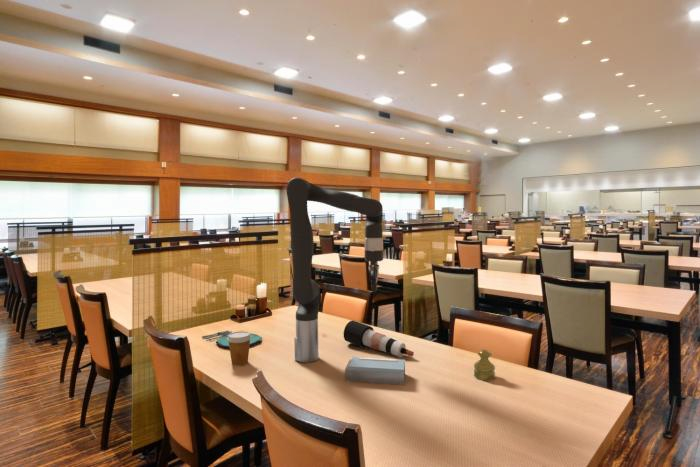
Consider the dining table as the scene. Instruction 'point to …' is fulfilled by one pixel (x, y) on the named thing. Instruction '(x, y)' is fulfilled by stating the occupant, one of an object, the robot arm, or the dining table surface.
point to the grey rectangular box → (374, 376)
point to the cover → (377, 364)
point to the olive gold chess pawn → (484, 367)
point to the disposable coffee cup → (239, 347)
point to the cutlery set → (223, 339)
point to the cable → (373, 339)
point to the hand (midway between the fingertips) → (374, 291)
